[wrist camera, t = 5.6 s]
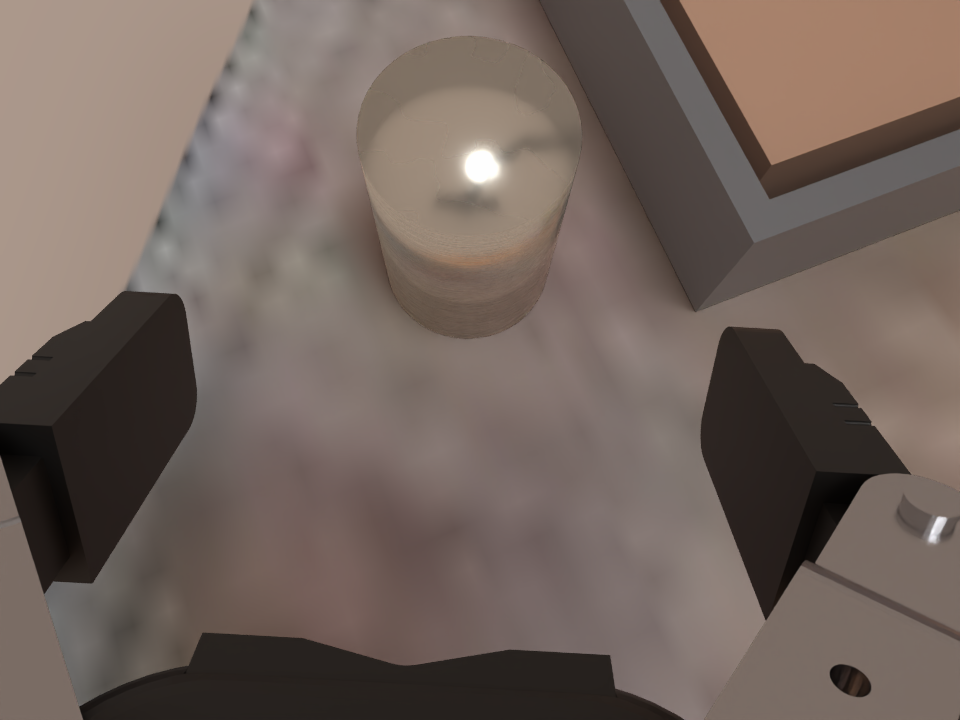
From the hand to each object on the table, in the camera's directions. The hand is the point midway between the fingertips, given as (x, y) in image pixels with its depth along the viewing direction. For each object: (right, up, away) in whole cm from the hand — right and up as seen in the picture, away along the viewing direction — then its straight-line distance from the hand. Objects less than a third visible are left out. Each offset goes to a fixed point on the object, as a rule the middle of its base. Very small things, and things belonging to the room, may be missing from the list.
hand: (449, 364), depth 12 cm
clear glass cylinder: (0, +3, +15) cm, 15 cm away
